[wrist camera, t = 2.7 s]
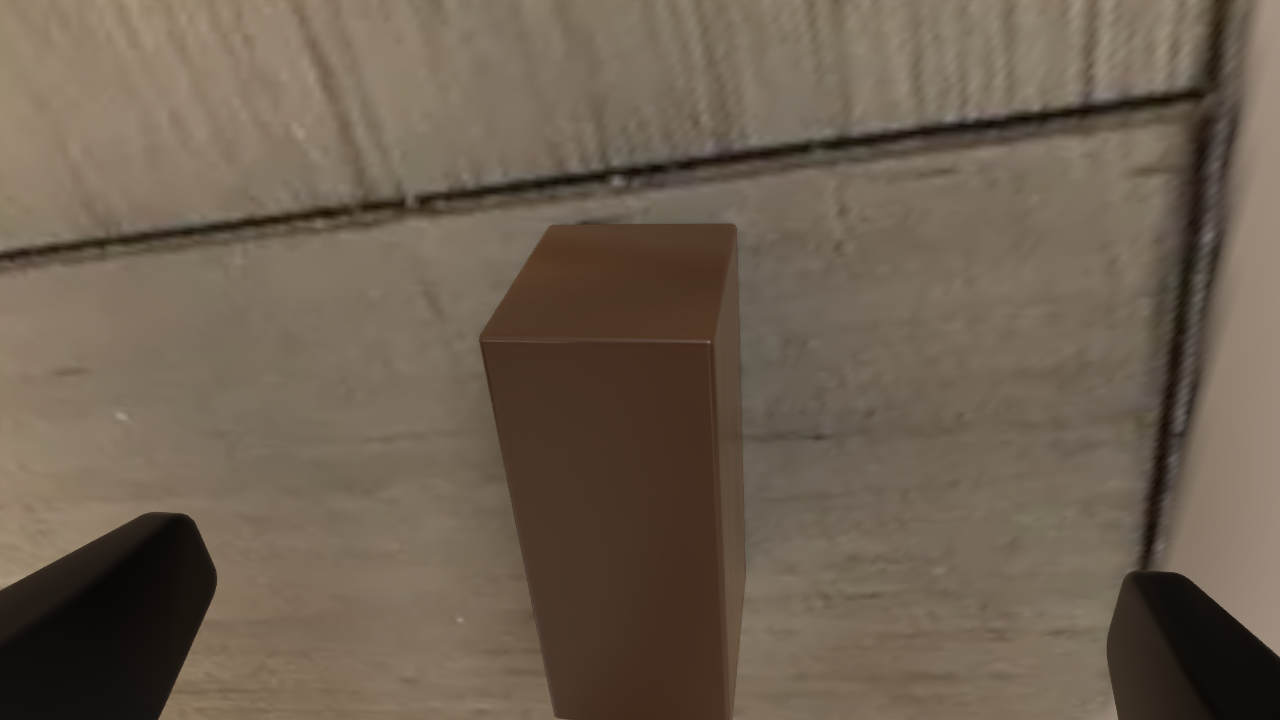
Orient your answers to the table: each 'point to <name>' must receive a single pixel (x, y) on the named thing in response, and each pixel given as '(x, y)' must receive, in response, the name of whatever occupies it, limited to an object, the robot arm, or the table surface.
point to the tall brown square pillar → (627, 464)
